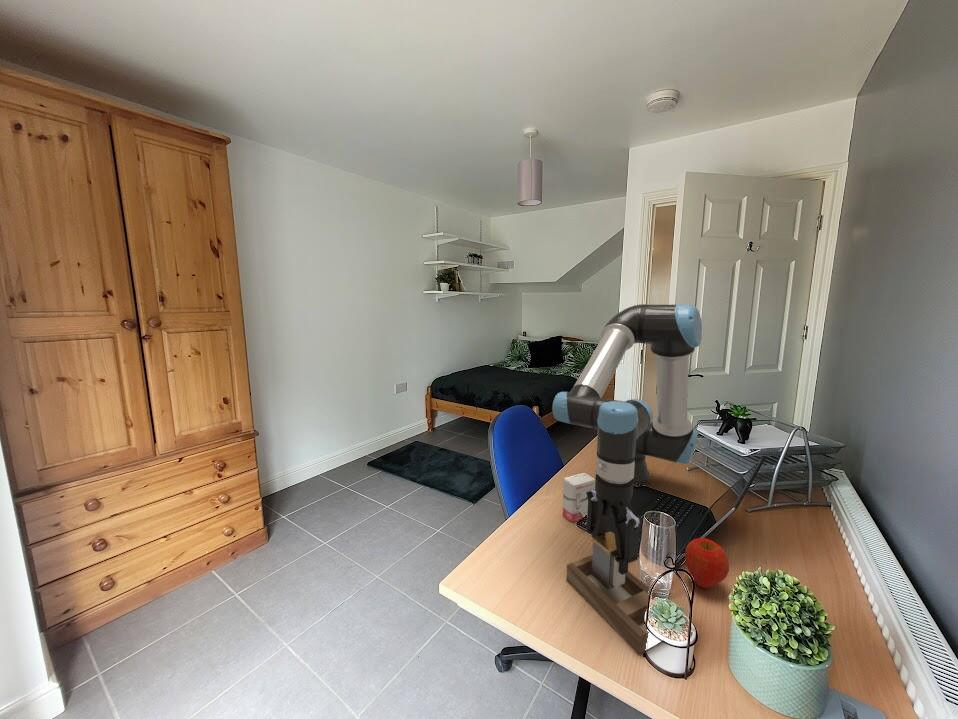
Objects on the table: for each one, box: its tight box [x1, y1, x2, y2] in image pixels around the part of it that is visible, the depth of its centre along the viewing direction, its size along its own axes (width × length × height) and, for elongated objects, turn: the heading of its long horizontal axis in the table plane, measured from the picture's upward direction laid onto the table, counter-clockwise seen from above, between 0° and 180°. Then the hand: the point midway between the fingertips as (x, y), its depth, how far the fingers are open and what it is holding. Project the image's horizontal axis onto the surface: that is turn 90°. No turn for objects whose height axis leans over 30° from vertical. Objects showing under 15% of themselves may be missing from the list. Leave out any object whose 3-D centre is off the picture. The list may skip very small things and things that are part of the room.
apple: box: [684, 537, 730, 589], centre depth 86 cm, size 9×8×11 cm
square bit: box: [592, 531, 626, 590], centre depth 83 cm, size 5×5×9 cm
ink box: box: [562, 472, 595, 523], centre depth 114 cm, size 9×5×12 cm, turn 116°
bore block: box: [565, 554, 662, 656], centre depth 82 cm, size 11×21×4 cm, turn 26°
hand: (608, 575), depth 84 cm, fingers closed on square bit, 5 cm apart
